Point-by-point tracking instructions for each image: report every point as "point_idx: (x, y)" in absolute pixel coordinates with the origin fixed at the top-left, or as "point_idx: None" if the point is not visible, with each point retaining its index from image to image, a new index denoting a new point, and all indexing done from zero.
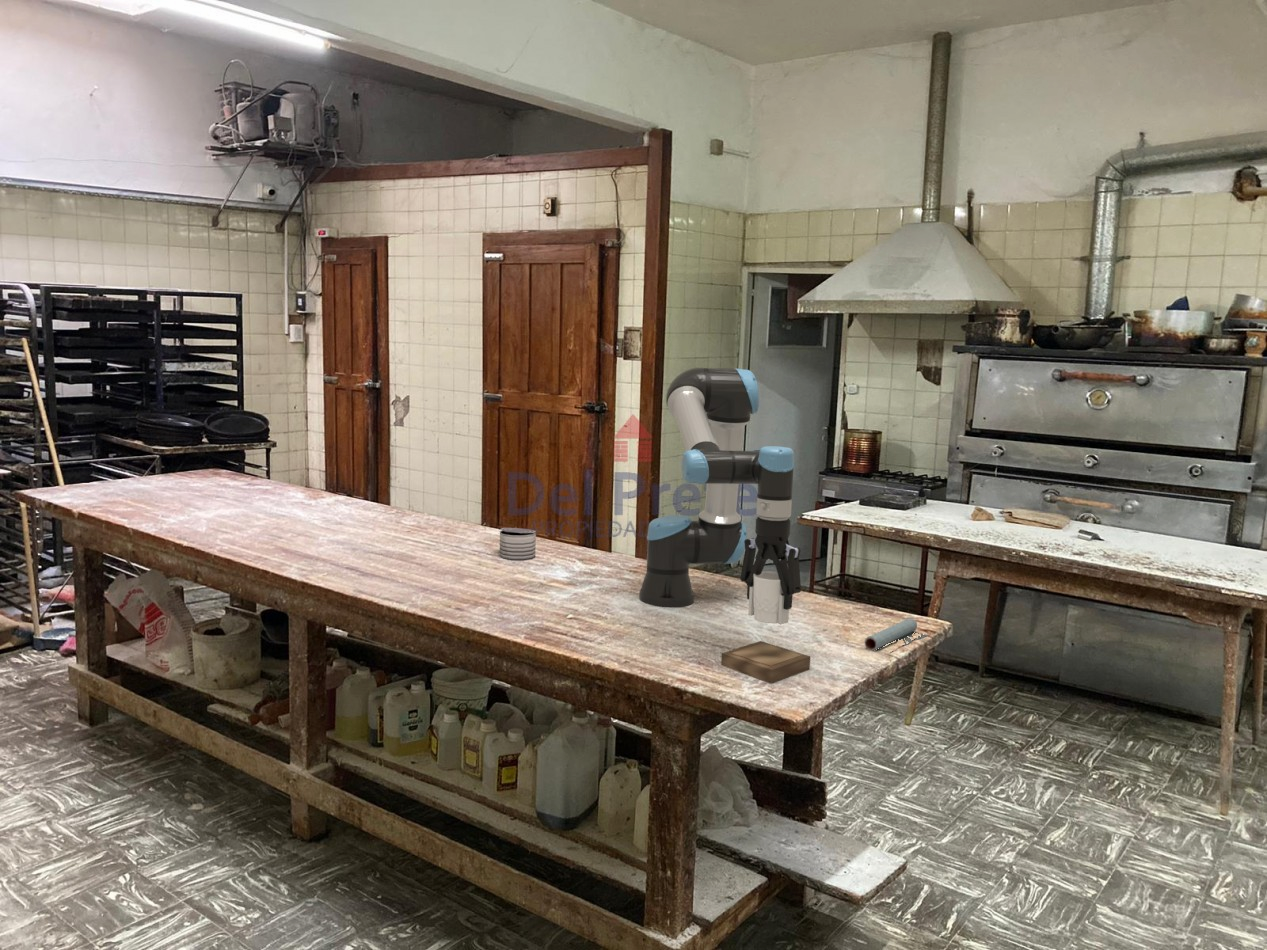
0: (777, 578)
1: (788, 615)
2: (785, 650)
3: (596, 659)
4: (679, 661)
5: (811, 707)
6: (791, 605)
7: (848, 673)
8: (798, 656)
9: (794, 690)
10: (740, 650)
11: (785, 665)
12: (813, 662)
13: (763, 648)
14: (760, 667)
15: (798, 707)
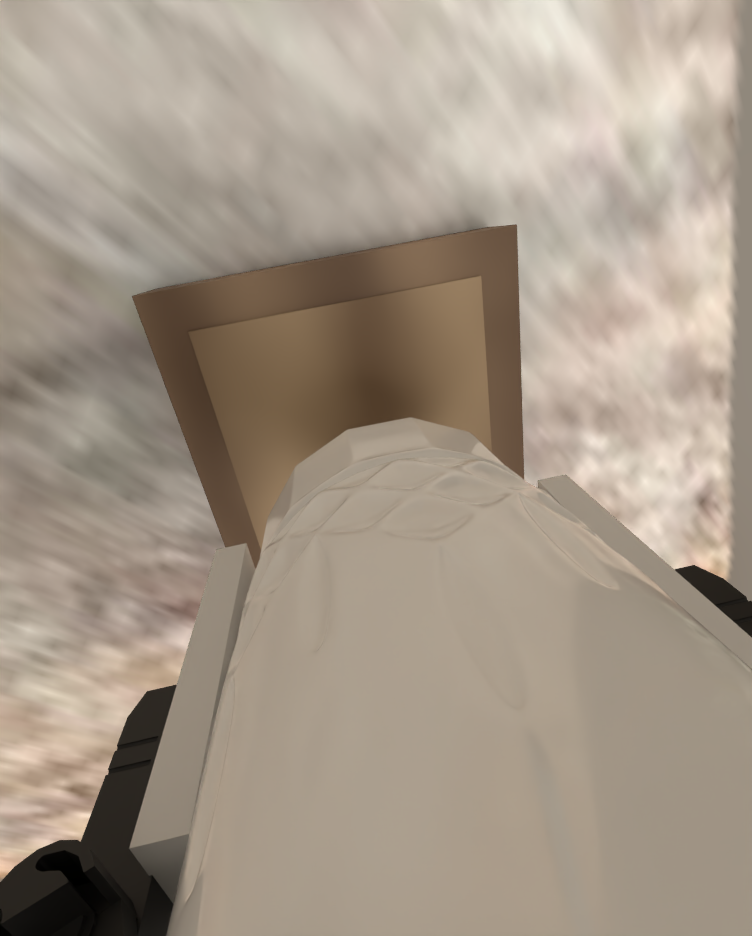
0: (426, 840)
1: (597, 504)
2: (360, 287)
3: (25, 845)
4: (135, 661)
5: (719, 522)
6: (733, 594)
7: (657, 61)
8: (482, 301)
9: (600, 476)
10: (256, 517)
11: (521, 449)
12: (423, 102)
13: (279, 391)
14: None
15: (689, 555)
